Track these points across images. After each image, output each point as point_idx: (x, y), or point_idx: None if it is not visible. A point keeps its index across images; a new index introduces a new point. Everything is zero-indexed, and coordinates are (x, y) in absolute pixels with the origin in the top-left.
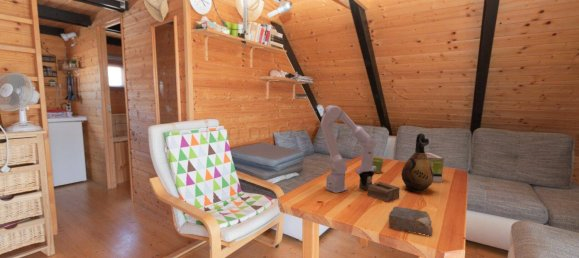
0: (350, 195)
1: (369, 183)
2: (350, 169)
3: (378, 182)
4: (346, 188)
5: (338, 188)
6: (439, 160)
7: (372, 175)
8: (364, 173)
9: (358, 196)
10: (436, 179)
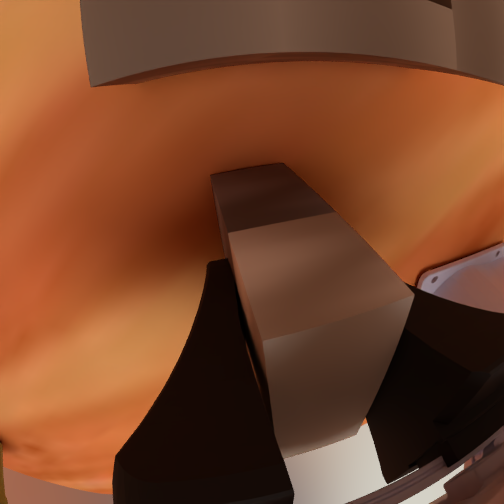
0: (494, 165)
1: (318, 210)
2: (96, 481)
3: (196, 46)
4: (426, 287)
5: (497, 273)
6: None
7: (191, 403)
8: (494, 397)
9: (480, 110)
10: None
